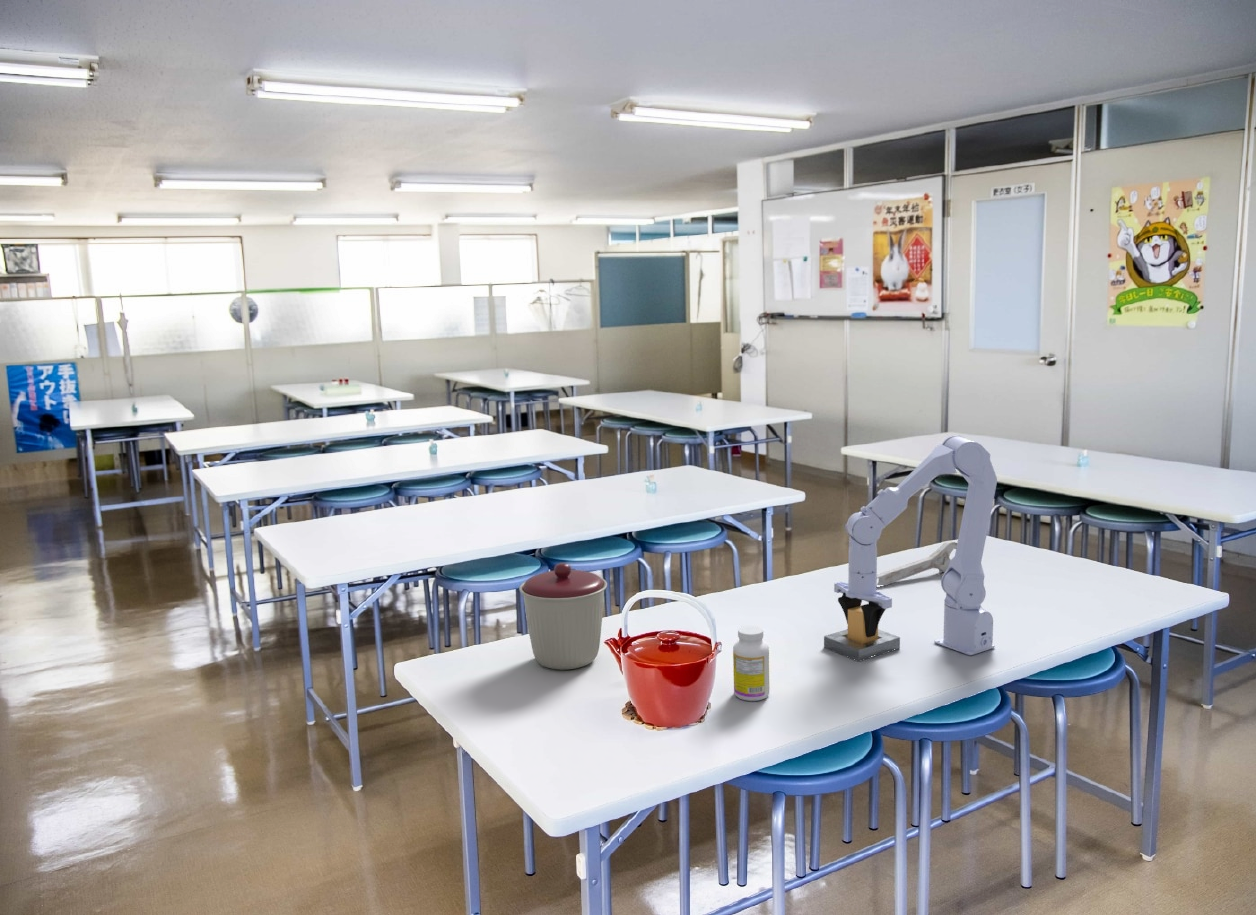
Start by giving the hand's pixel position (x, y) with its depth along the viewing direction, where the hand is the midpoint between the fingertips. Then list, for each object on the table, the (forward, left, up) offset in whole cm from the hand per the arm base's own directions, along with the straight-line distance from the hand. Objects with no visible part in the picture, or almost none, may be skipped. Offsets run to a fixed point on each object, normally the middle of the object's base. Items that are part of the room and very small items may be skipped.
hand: (861, 632), depth 201 cm
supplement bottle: (-5, +34, -4) cm, 35 cm away
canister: (+31, +54, -4) cm, 62 cm away
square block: (0, 0, -2) cm, 2 cm away
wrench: (+27, -48, -4) cm, 55 cm away
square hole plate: (0, 0, -3) cm, 3 cm away
